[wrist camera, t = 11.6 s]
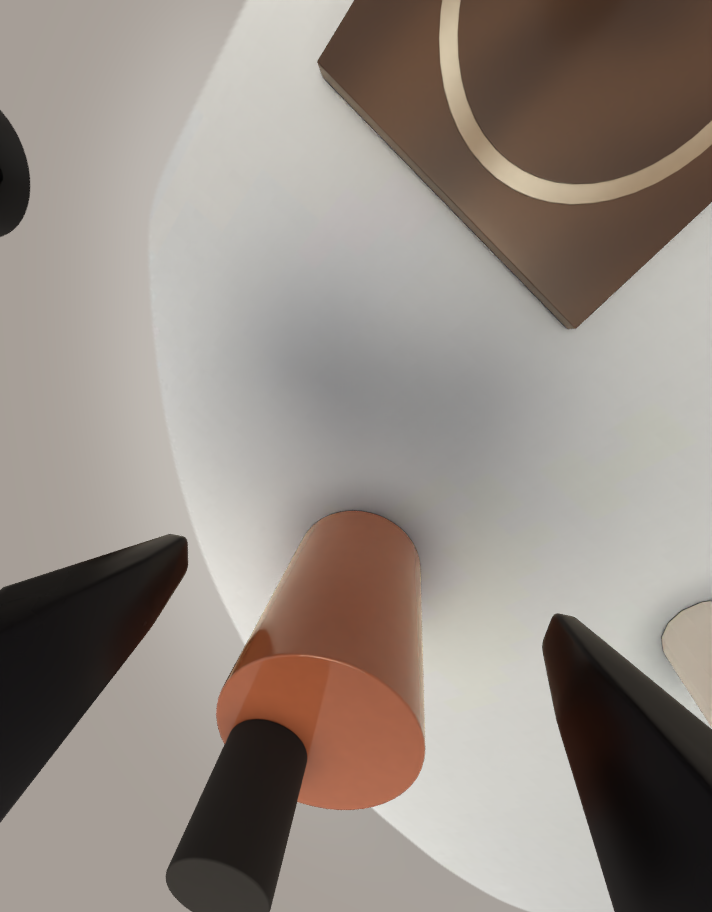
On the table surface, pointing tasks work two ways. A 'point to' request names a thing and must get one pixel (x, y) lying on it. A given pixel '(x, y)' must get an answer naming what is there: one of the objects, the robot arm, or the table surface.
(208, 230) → the table surface
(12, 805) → the robot arm
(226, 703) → the pedestal
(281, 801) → the dot
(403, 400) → the table surface
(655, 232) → the board
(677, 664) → the off-white cylinder
